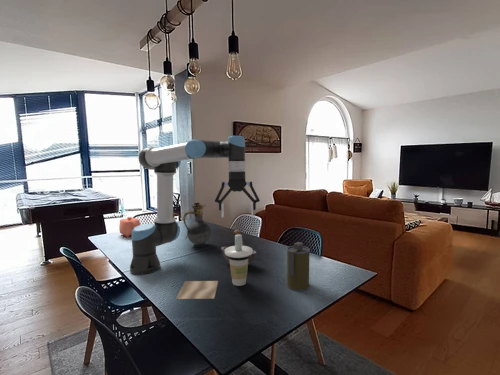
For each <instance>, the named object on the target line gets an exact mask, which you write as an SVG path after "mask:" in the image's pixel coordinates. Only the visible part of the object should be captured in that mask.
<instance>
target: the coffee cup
mask: <svg viewBox="0 0 500 375" xmlns="http://www.w3.org/2000/svg"><path fill="white" fill-rule="evenodd" d="M228 258H229V260H230V263H229V269H230V276H231V281H232V284H233V286H237V287H239V286H240V287H241V286H244V285H246V284H247V277H248V270H249V268H248V267H249V264H248V258H249V256H247V257H243V258H233V257H228Z"/></svg>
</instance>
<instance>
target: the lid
mask: <svg viewBox="0 0 500 375" xmlns="http://www.w3.org/2000/svg"><path fill="white" fill-rule="evenodd" d="M242 240H243V235H242V234H241V233H240V234H237V235H235V236H234V245H232V246H227V247H228V248H226V249H225V255H226V256H228V257H233V258H243V257H247V256H250V255H252V253H253V251H254V250H253V248H252V247H250V246H247V245H244V246H242Z"/></svg>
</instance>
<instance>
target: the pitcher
mask: <svg viewBox="0 0 500 375" xmlns="http://www.w3.org/2000/svg"><path fill="white" fill-rule="evenodd" d="M204 207H207V205H205V204H201V202H195V203H193V205H191V208H192V209H193V211H186V212H184V214H183V217H182V218H183V219H182V221H183V223H184V226H185V228H186V230H187V231H186V236H185V239H187V238H188V240H189V242H191V243H192V244H193V247H194V248H203V247H205V246H206V243H207V242H209V240H210V238H211V236H212V228H211V226H210V224H208V222H206V221H204V220H203V218H204V217H203V215H204V213H203V210H204ZM189 214H191V215H194V220H195V221H192V222H191V223H190V224H189V225H187V222H186V217H187V215H189Z"/></svg>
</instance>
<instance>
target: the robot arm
mask: <svg viewBox="0 0 500 375" xmlns="http://www.w3.org/2000/svg"><path fill="white" fill-rule="evenodd" d="M204 158H205V159H206V158H207V159H210V158H211V159H218V158H219V159H223V158H227V159H228V162H227V163H228V170H229V171H228V181H222V182H221V186H220V189H219V190H218V193H217V195H216V197H215V199H214V202H215V203H217V204H218V210H219V211H221V212H220V213H221V219H223V218H224V217H225V213H224V212H225V211H224V210H225V209H224V207H225V206H224V200H225V199H226V197H228V196H229V195H230V193H231V192H243V194H245V195H246V196H247V197H248V199H249V200H250V201H251V207H250V208H251V212H250V213H251V218H254V211H256V209H257V206H256V205H257V203H260V198H259V196H258V194H257V192H256V189H255V188H254V185H253V181H246V171H245V170H246V140H245V136H242V135H229V136H228V138H227V140H226V141H225V140H224V141H219V140H218V141H217V140H206V139H205V140H203V139H190V140H188V141H187V142H183V143H177V144H173V145H167V146H163V147H154V146H151V147H146V148H143V149H141V151H140V152H139V154H138V161H139V164H140V166H142V167H143V168H145V169H147V170H154V171H153V172H154V174H155V175H156V202H157V203H156V206H157V207H156V209H157V210H156V216H157V217H156V218H155V219H154V222H153V223H143V224H140V225H139V226H137V227H135V228H134V229H133V230H132V235H130V237H131V246H132V259H131V262H130V266H129V272H130V273H131V274H133V275H140V276H141V275H148V274H152V273H154V272H156V271H158V270H159V269H160V268H161V261H160V259H159V256H158V254H157V247H159V246H162V245H165V244H169V243H171V242H173V241H175V240H177V239H178V238H179V236H180V233H181V228H180V225H179V223H178V221H177V220H176V218H175V217H174V175H175V174H176V173H177V170H178V169H179V167H180V166H181V164H182V161H189V160H196V159H204ZM227 186H228V190H227V191H226V192H225V193H224V195H222V193H223V191H224V189H225V187H227ZM246 186H248V187H250V191H251V192H252V193H253V196H254V197H253V196H252V195H251V194H250V193H249V191H248V190H247V189H246ZM221 195H222V197H221ZM220 197H221V198H220Z"/></svg>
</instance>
